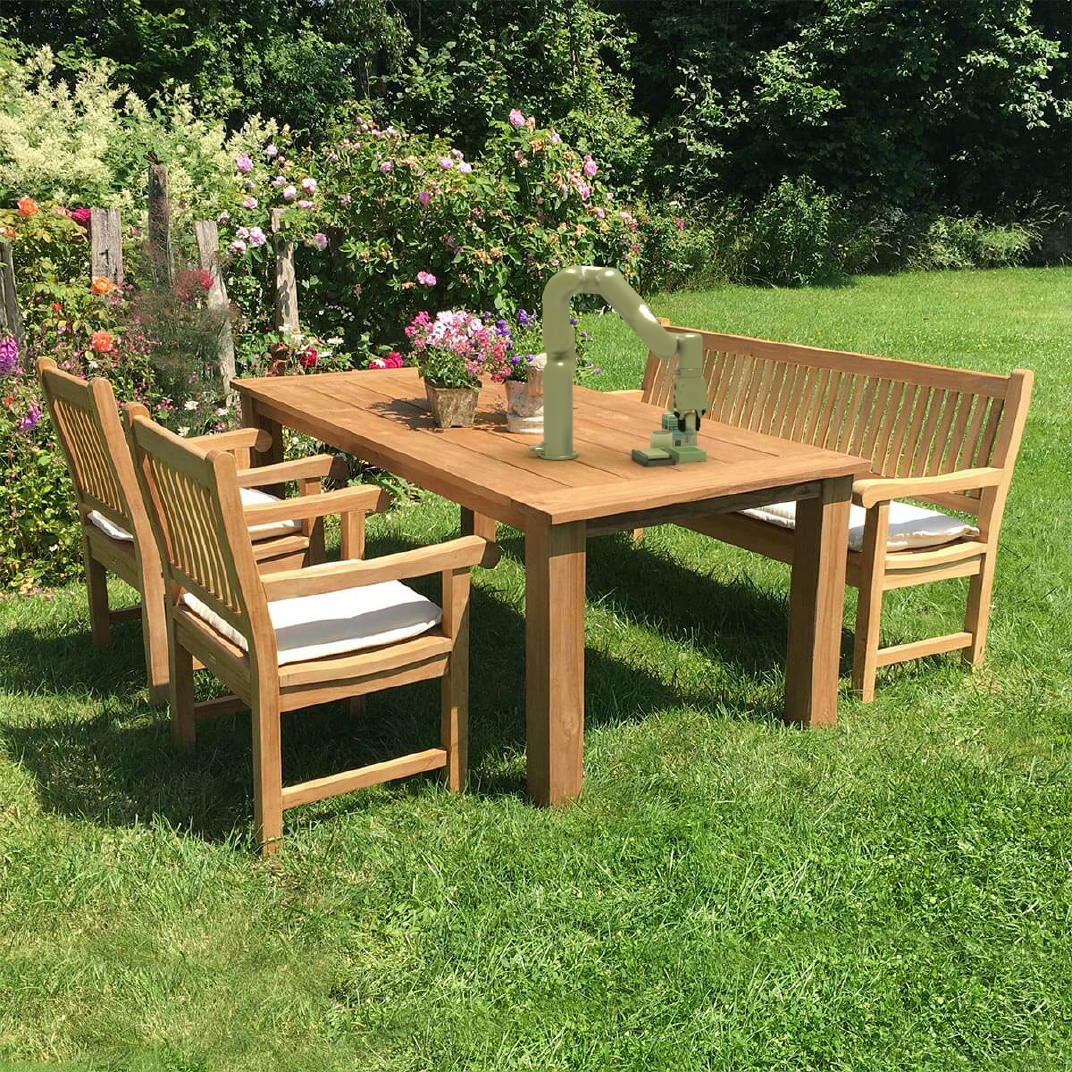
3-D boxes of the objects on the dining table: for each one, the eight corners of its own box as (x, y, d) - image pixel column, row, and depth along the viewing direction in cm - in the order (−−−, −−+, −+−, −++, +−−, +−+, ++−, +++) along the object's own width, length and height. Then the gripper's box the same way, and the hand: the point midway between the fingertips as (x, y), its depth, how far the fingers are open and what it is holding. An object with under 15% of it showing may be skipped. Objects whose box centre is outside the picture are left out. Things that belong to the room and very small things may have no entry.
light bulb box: (667, 448, 398) (668, 415, 395) (660, 444, 404) (661, 412, 401) (697, 446, 401) (698, 414, 398) (689, 442, 407) (690, 410, 404)
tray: (679, 462, 375) (679, 453, 374) (668, 457, 384) (669, 447, 383) (706, 461, 377) (706, 451, 377) (694, 455, 386) (695, 446, 385)
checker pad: (648, 458, 370) (648, 455, 370) (637, 452, 380) (637, 449, 379) (669, 457, 372) (669, 454, 372) (657, 451, 381) (657, 448, 381)
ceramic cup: (654, 456, 384) (655, 434, 382) (647, 452, 391) (647, 430, 389) (675, 455, 386) (675, 433, 384) (667, 451, 393) (667, 429, 391)
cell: (685, 435, 376) (685, 413, 374) (679, 433, 380) (680, 411, 378) (698, 434, 377) (698, 412, 375) (692, 432, 381) (693, 410, 379)
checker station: (644, 467, 370) (644, 456, 369) (631, 459, 381) (631, 448, 380) (676, 464, 372) (676, 454, 371) (662, 457, 384) (662, 446, 383)
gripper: (669, 376, 368) (668, 435, 372) (719, 373, 372) (718, 431, 377) (660, 373, 374) (659, 430, 379) (710, 370, 379) (709, 427, 384)
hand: (689, 430), depth 378 cm, fingers closed on cell, 4 cm apart
